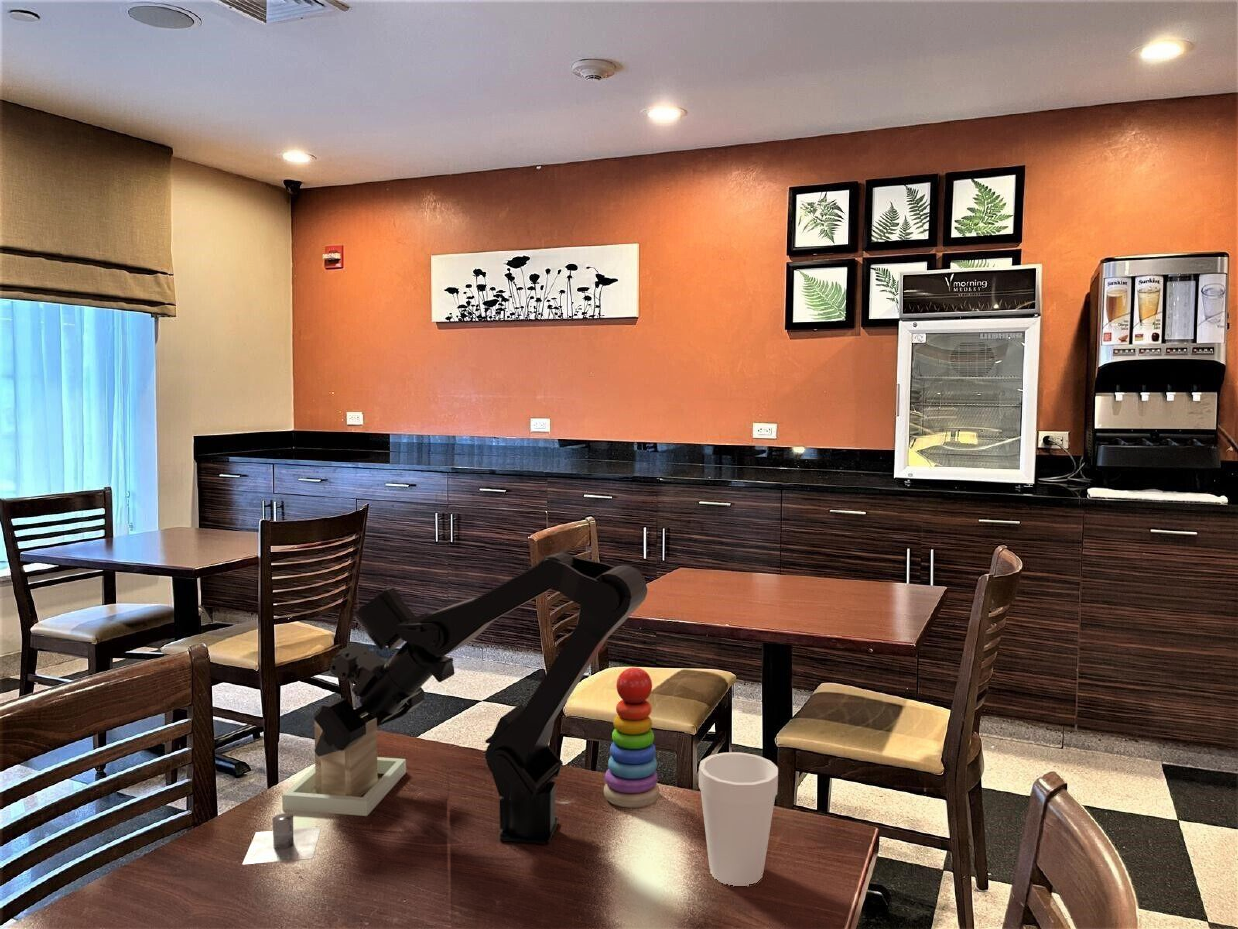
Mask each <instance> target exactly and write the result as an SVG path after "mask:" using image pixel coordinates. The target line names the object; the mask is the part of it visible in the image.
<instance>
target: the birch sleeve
mask: <svg viewBox="0 0 1238 929" xmlns="http://www.w3.org/2000/svg"><path fill="white" fill-rule="evenodd" d="M353 708H354V709H356V708H357V707H356V708H355V707H353ZM366 715H367V714H366ZM366 715H364V716H366ZM364 716H362V717H364ZM313 720H314V719H313ZM321 733H322V729H321V727H320V726H319V725H318V724H317V722H316V721H315V720H314V749H315V748H316V745H317V743H318V740H319V738H320V736H321ZM377 757H378V726H377V718H375V719H374V720H372V721H370V722H368V723H367V724H366V734H365V735H364V736H363V737H362V738H361V739H360V740H359V741H357V743H356V744H354V745H352V746H350V747H349V748H347V749H345V750H343V751H341V750H339V751H336V752H332V753H329V754H326V755H323V756H320V757H319V756H317V754H316V753H315V752H314V765H315V766H314V767H315V780H316V786H315V794H325V795H339V796H352V797H363V796H364V795H365V794H366V793H367V792H368V791H369V790H370V789H371V788H372V787H373V786H374V785H375V784H376V783H377V782H378V781H379V779H378V773H377Z"/></svg>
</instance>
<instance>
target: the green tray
mask: <svg viewBox="0 0 1238 929" xmlns="http://www.w3.org/2000/svg"><path fill="white" fill-rule="evenodd" d="M406 773H407V760H406V758H395V757H383V756H382V757H380V756H377V775H379V774H380V775H381V774H382V776H381V778H380V779H378V782H377V783H376V784H375V785H374V786H373V787H372V788H371V789H370V790H369V791H368V792H366V793H365V794H363V795H362V796H360V797H352V796H339V795H325V794H316V793H310V792H311V791H313V789H314V788H316V780H315V766H314V767H313V768H312V769H310V770H309V771H308V772H307V773H306V774H305V775H303V776H302V777H301V778H299V780H298V781H296V783H294V784H293V785H292V786H290V787H289V788H288V789H287V790H286V791H285V792H284V793H282V794H281V795H282V796H281V798H282V799H281V800H282V802H281V803H282V806H281V807H282V810H285V811H297V812H299V811H300V812H307V813H308V812H311V813H323V814H324V813H325V814H338V815H351V816H364V817H367V816H368V815H369V814H370V813H371V812H372V811H373V810H374V809H375V808H376V807H377V806H378V804H379V803H380V802H381V801H382V800H383V799H384V798H385V797H386V795H387V794H388V793H389V792H390V791H391V790H392V789H393V788H394V787H395V785H396V784H397V783H399V781H400V780H401V778H403V776H404V775H405V774H406Z"/></svg>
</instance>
